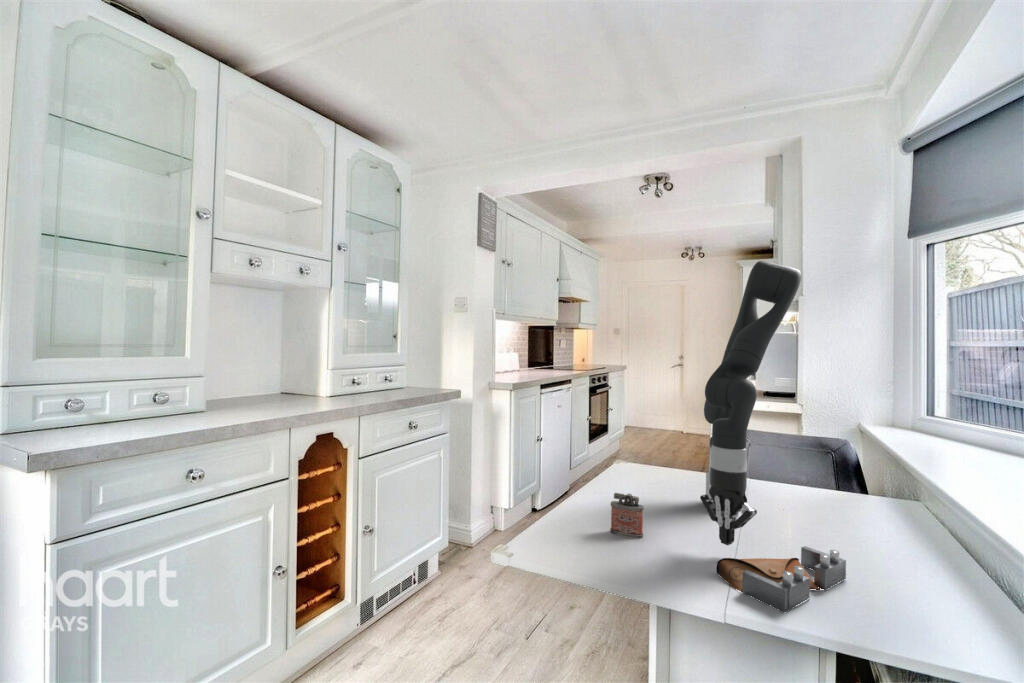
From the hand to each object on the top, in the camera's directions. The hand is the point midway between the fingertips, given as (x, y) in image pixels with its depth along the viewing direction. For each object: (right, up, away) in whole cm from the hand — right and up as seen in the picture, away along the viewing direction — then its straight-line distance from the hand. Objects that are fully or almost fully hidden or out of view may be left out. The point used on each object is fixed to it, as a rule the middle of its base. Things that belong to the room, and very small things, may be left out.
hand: (726, 543), depth 108 cm
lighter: (-20, -3, +12) cm, 23 cm away
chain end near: (+2, -3, -16) cm, 17 cm away
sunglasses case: (+4, -4, -11) cm, 12 cm away
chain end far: (+14, -3, -9) cm, 17 cm away
